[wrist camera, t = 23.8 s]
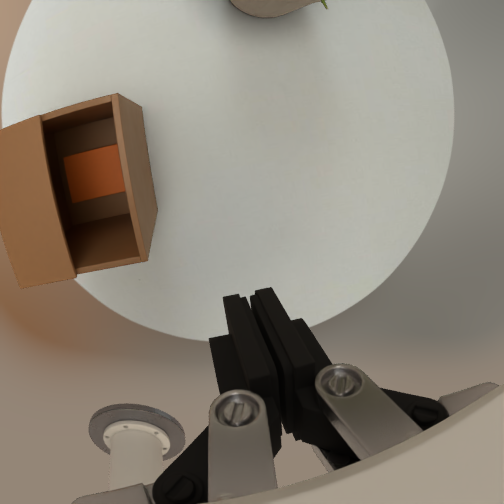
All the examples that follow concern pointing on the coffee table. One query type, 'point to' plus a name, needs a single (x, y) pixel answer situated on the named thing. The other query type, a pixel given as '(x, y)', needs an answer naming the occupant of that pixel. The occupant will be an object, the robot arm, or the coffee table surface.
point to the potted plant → (271, 6)
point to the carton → (111, 206)
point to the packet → (94, 173)
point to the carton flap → (31, 208)
